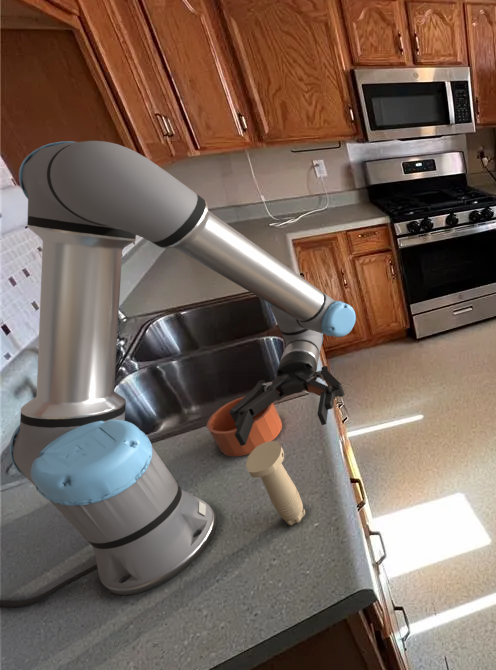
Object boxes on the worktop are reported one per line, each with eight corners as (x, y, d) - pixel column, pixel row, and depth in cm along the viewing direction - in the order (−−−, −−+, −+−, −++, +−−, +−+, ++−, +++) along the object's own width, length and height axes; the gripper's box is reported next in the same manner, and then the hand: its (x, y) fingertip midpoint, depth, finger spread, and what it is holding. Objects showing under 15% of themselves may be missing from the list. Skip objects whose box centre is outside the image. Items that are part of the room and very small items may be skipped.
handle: (312, 498, 75) (283, 437, 68) (309, 528, 70) (277, 466, 62) (283, 507, 74) (251, 446, 67) (278, 538, 68) (242, 476, 61)
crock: (230, 466, 83) (216, 442, 80) (213, 438, 91) (200, 416, 88) (290, 431, 91) (280, 409, 88) (270, 408, 99) (260, 387, 95)
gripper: (361, 365, 96) (359, 426, 78) (244, 392, 91) (213, 464, 73) (352, 338, 93) (348, 395, 75) (230, 364, 87) (194, 432, 69)
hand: (281, 429), depth 74 cm, fingers open, 13 cm apart
